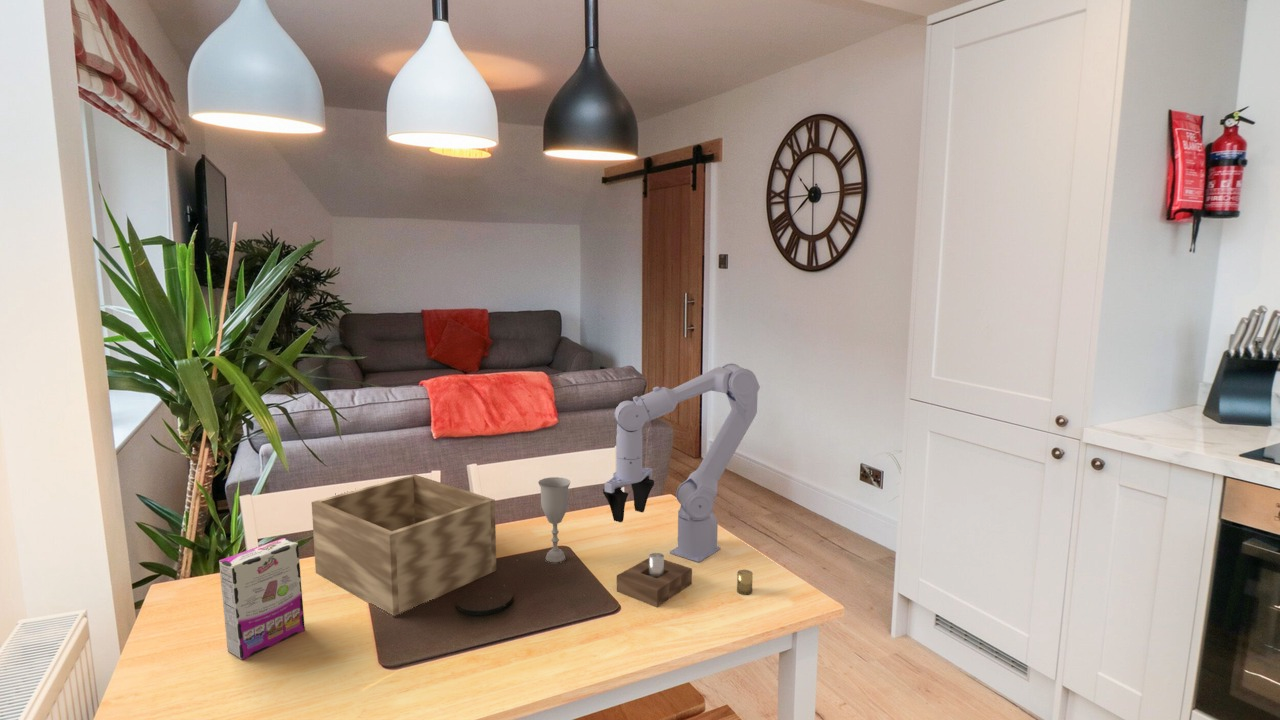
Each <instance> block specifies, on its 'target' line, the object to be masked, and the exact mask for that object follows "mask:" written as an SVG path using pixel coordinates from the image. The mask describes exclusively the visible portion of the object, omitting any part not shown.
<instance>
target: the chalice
mask: <svg viewBox="0 0 1280 720" xmlns="http://www.w3.org/2000/svg"><path fill="white" fill-rule="evenodd" d="M537 483H538V485H539V487H540V506H541V508H542V511H543V514H544V515H545V518H546V519H547V520H546V521H548V523H550V524H552V530H551V534H552V538H551V540H550V541H551V542H552V547H551V549H549V550H547V553H546V555H545V559H546V560H547V561H550V562H559V561H562V560H564V559H565V560H566V556H565V553H564V551H563V550H562V549H560V548H559V546H558V542H559V541H560V539H559V537H558V534H559V529H558V525H559V524H560V523H562V521H563V519H564V517H565V515H566V513H567V511H568V506H569V487H570V485H571V483H572V482H571V480H570V479H568V478H566V477H565V478H564V477H559V476H558V477H557V476H555V477H554V476H553V477H545V478H542V479H540V480H539V481H538V482H537ZM546 560H545V561H546ZM565 560H564V561H565ZM547 561H546V562H547Z"/></svg>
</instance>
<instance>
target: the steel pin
mask: <svg viewBox="0 0 1280 720" xmlns="http://www.w3.org/2000/svg"><path fill="white" fill-rule="evenodd" d="M648 558H649V576H651V577H654V578H659V577H661V576H662V575H664V560H665V555H664V554H663V553H661V552H660V553H659V552H653V553H650V554H649V555H648Z"/></svg>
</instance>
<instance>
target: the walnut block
mask: <svg viewBox="0 0 1280 720" xmlns="http://www.w3.org/2000/svg"><path fill="white" fill-rule="evenodd" d="M692 577H693V567H692V568H691V567H689V566H685V565H681V564H679V563H677V562H673V561H669V560H667V559H664V575H662V576H661V577H659V578H654V577H651V576H649V557H648V558H646V559H644V560H643V561H641V562H639V563H637V564H635V565H634V566H631V567H630V568H628V569H626V570H624V571H623V572H620V573H619V574H616V592H617V593H619V594H622V595H624V596H627V597H630V598H632V599H635V600H637V601H639V602H643V603H645V604H647V605H650V606H653V607H655V608H659V607H660V606H662V605H663V604H665V603H666V602H668V601H669V600H670V599H672V598H674V597H675V596H676V595H678V594H680V593H681V592H683V591H684V590H685V589H686V588H689V587H690V586H691V585H692V583H693V578H692Z"/></svg>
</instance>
